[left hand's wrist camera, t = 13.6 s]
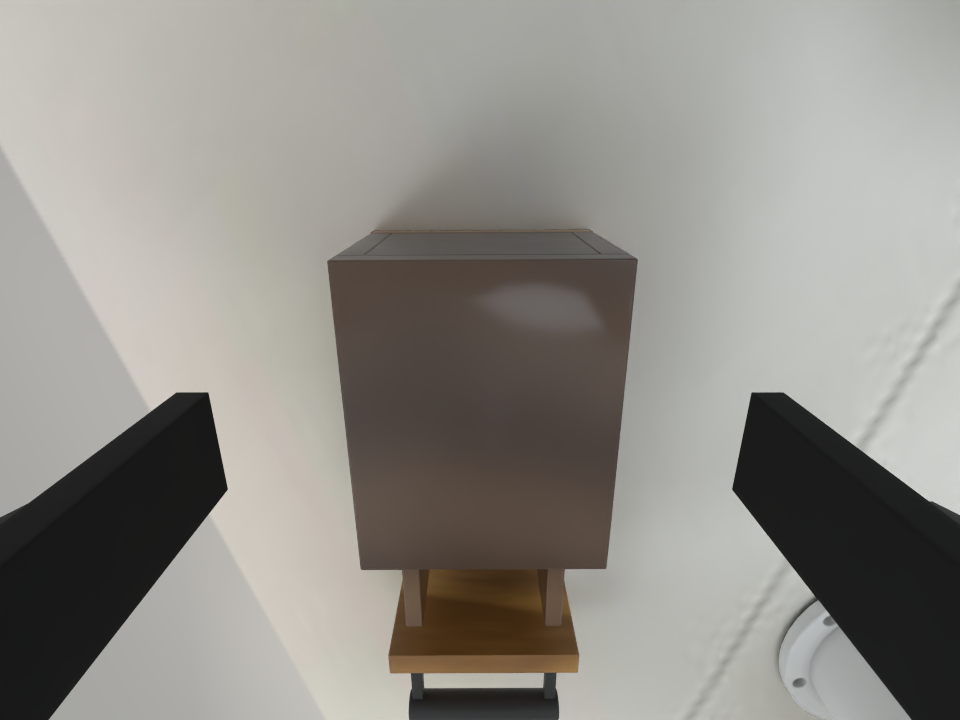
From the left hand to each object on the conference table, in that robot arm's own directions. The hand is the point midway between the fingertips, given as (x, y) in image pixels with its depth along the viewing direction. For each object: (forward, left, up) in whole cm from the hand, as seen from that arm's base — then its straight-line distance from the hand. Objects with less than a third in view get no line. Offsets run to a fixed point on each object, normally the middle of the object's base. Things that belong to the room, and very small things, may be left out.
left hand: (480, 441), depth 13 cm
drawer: (+13, -7, -14) cm, 20 cm away
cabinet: (+3, -2, -15) cm, 15 cm away
